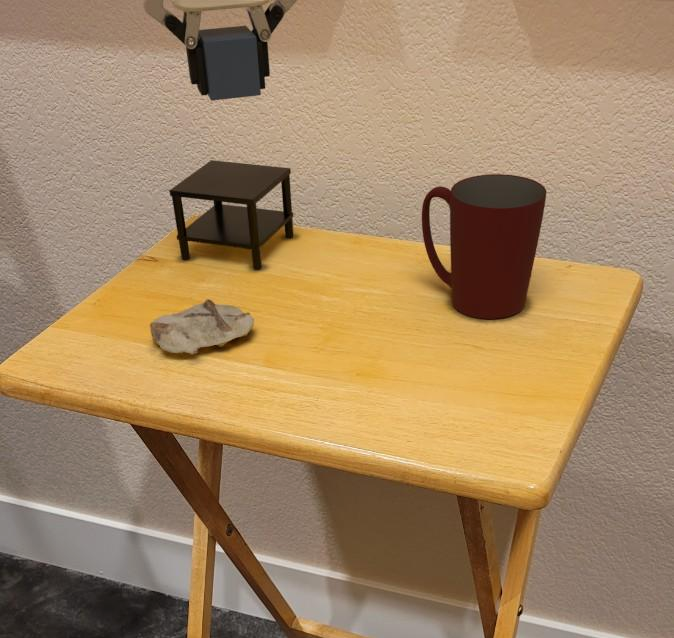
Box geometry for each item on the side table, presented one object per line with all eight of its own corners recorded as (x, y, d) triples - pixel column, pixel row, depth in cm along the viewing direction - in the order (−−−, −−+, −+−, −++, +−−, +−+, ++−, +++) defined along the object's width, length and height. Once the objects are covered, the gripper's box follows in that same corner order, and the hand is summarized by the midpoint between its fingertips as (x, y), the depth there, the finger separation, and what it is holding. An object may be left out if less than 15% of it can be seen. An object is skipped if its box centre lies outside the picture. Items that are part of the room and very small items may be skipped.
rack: (259, 270, 97) (253, 199, 92) (180, 259, 100) (169, 190, 95) (294, 236, 104) (290, 168, 99) (219, 226, 107) (211, 160, 101)
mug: (402, 306, 90) (404, 194, 82) (437, 272, 96) (443, 165, 88) (513, 330, 86) (527, 214, 78) (544, 293, 91) (559, 181, 84)
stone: (230, 312, 90) (227, 287, 88) (264, 340, 86) (262, 314, 84) (144, 338, 87) (139, 313, 85) (174, 369, 82) (169, 343, 80)
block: (210, 101, 86) (203, 41, 82) (202, 87, 89) (195, 30, 86) (261, 95, 87) (256, 36, 83) (251, 82, 90) (246, 25, 87)
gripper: (293, -159, 79) (305, 70, 92) (102, -148, 76) (141, 88, 89) (314, -154, 74) (323, 89, 87) (109, -141, 71) (150, 108, 84)
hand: (231, 86), depth 88 cm, fingers closed on block, 5 cm apart
